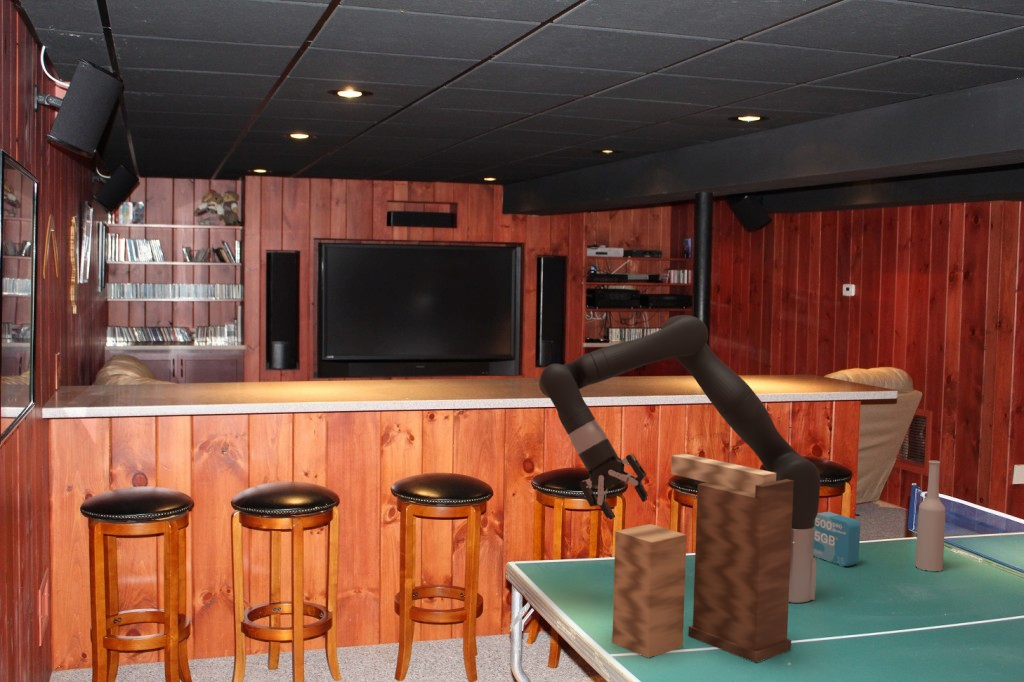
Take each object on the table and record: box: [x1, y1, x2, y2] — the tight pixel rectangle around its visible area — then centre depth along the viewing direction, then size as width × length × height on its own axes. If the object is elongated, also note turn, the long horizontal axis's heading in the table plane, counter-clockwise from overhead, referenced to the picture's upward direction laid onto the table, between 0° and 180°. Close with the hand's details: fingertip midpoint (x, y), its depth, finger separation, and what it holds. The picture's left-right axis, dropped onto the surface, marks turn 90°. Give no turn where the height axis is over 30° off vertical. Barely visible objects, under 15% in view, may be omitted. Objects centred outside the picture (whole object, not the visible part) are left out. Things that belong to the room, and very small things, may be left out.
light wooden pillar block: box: [611, 523, 687, 658], centre depth 198 cm, size 10×10×23 cm
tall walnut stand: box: [687, 479, 794, 663], centre depth 199 cm, size 17×11×34 cm, turn 39°
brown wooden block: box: [670, 453, 776, 494], centre depth 203 cm, size 24×4×4 cm, turn 39°
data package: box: [813, 511, 861, 567], centre depth 259 cm, size 12×4×12 cm, turn 31°
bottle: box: [914, 459, 946, 572], centre depth 253 cm, size 7×7×28 cm
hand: (629, 509), depth 216 cm, fingers open, 8 cm apart
